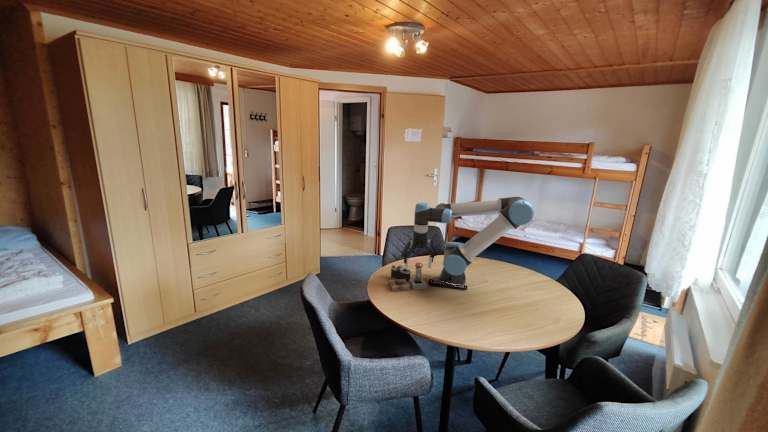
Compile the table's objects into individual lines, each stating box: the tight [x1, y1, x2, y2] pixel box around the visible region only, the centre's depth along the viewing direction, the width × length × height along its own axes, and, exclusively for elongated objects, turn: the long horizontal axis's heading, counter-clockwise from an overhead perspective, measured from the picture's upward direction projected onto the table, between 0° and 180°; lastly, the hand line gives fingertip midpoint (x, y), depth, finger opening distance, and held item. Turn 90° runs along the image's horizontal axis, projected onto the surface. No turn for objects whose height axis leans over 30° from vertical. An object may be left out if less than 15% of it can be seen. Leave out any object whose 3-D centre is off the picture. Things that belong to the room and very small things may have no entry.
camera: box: [390, 264, 412, 284], centre depth 193 cm, size 13×8×9 cm, turn 58°
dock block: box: [387, 279, 411, 293], centre depth 181 cm, size 10×10×2 cm
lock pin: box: [414, 262, 423, 284], centre depth 183 cm, size 4×4×13 cm
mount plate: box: [408, 278, 428, 290], centre depth 184 cm, size 8×8×2 cm
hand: (418, 268), depth 182 cm, fingers open, 13 cm apart
